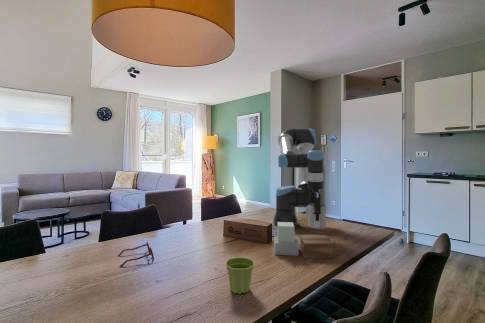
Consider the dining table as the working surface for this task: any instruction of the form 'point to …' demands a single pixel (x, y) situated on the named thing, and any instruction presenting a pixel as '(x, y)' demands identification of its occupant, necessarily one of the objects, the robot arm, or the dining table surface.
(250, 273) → the plant pot
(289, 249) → the slate block
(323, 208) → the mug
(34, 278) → the dining table surface
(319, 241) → the walnut plinth
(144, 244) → the glasses
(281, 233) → the sage cube
